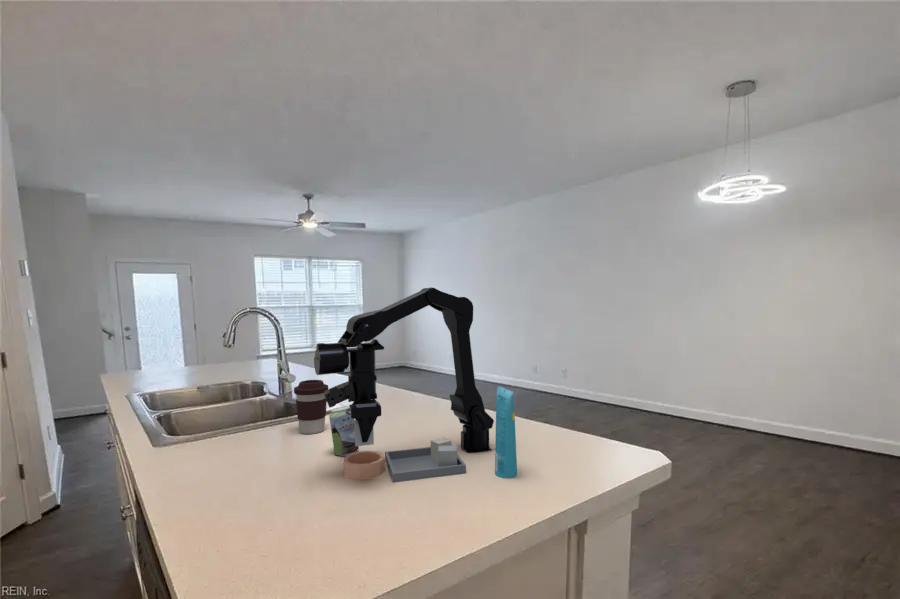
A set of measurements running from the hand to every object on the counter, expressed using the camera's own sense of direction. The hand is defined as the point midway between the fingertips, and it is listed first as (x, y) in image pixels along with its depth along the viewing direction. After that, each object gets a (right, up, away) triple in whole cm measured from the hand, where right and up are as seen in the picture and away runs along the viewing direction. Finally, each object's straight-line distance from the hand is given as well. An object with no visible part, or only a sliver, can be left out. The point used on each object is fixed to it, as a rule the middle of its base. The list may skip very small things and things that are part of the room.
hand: (364, 439), depth 100 cm
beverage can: (-7, -8, +12) cm, 17 cm away
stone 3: (+19, -7, +1) cm, 20 cm away
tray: (+13, -7, +2) cm, 15 cm away
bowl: (0, -8, 0) cm, 8 cm away
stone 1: (0, -1, 0) cm, 1 cm away
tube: (+32, -7, -3) cm, 33 cm away
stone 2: (+17, -7, +7) cm, 20 cm away
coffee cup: (-22, -8, +33) cm, 41 cm away
